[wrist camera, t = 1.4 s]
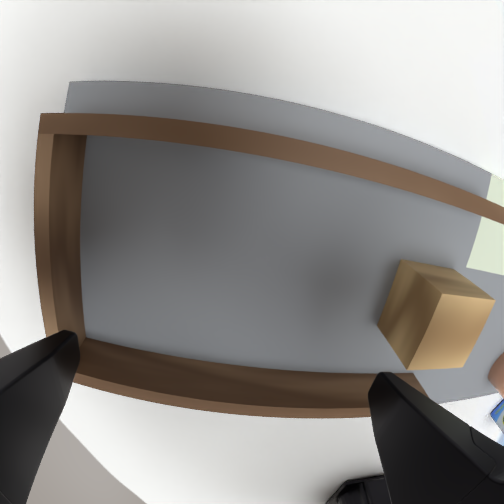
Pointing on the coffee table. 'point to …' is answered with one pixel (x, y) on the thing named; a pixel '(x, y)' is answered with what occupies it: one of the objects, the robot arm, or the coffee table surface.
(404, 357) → the oak block
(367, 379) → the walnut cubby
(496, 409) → the medicine box
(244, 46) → the coffee table surface
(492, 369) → the peach dome
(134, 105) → the slate board
